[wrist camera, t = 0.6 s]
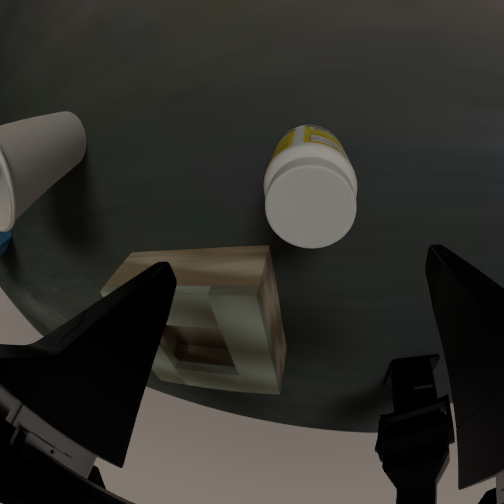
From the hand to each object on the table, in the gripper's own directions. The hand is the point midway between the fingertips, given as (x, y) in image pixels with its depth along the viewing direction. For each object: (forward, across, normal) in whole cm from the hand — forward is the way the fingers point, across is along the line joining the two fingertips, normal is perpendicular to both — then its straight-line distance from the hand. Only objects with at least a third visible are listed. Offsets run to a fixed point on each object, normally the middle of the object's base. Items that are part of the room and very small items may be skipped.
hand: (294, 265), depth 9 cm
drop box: (+12, +11, +14) cm, 21 cm away
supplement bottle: (+12, 0, 0) cm, 12 cm away
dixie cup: (+12, +20, -6) cm, 25 cm away
